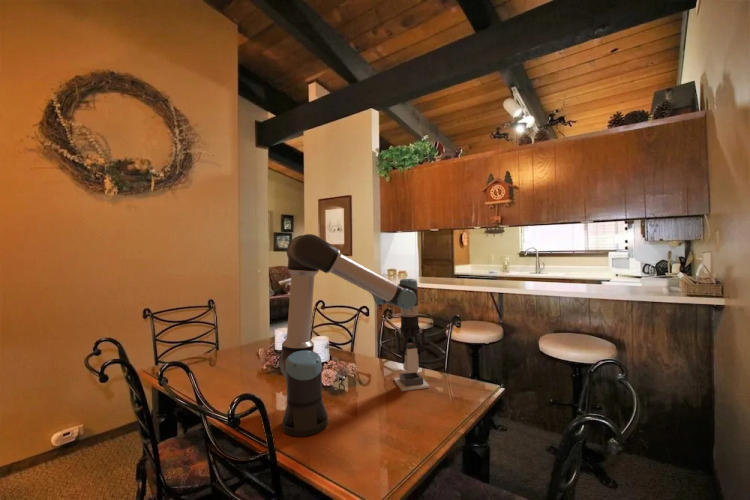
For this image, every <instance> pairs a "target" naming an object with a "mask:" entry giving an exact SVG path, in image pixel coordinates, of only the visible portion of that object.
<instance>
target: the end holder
mask: <svg viewBox="0 0 750 500" xmlns="http://www.w3.org/2000/svg"><path fill="white" fill-rule="evenodd" d="M393 381H394V383H395V384H396V385H397V386H398V389H400V391H401V392H407V391H408V392H409V391H415V390H423V389H424V390H425V389H430V388H431V387H430V384H429V383H428V382H427V381H426V380H425V378H424V377H423V376H422V375H421V374H420V373H419V372H413V373H407V372H402V373H400V372H399V377H393Z"/></svg>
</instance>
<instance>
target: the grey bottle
mask: <svg viewBox="0 0 750 500" xmlns="http://www.w3.org/2000/svg"><path fill="white" fill-rule="evenodd" d="M405 354H406V355H407V371H405V373H413V372H418V371H419V369H418V359H417V348H416V347H415V344H414V342H407V346H406V351H405ZM418 373H419V372H418Z"/></svg>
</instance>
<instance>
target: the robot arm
mask: <svg viewBox="0 0 750 500" xmlns="http://www.w3.org/2000/svg"><path fill="white" fill-rule="evenodd" d="M286 248H287V249H286V256H287V272H289V274H290V286H289V289H290V290H289V300H288V301H289V303H288V304H289V305H288V317H287V333H286V338H285V340H283V341H282V343H281V353H280V355H279V358H278V367H279V369H280V371H281V373H282V375H283V377H284V379H285V382H286V407H285V411H284V413H283V417H282V419H281V430H282V432H283V433H284V434H286V435H287V436H291V437H295V438H303V437H310V436H314V435H317V434H319V433H320V432H323V431H324V430H325V429H326V428H327V427H328V424H329V416H328V415H329V414H328V412H327V409H326V406H325V404H324V401H323V374H322V372H323V371H322V369H323V363H322V358H321V356H320V355H319V353H318V352H316V351H314V349H315V348H314V345H315V343H314V341H312V340H311V330H312V314H313V301H314V286H315V276H316V275H317V274H318V273H319V272H320V271H321V272H323V273H325V274H329V273H331V274H333V275H335V276H337V277H338V278H340V279H342V280H344V281H347V282H349V283H350V284H353V285H355V286H357V287H358V288H361V289H362V290H364V291H366V292H368V293H369V294H372V296H373V301H374V303H375V304H377V305H390V306H393V307H396V308H398V309H400V328H399V329H397V330H396V329H395V330H394V331H393V332H394V335H395V341H396V342H395V345H396V353H397V354H398V355H400V362H401V363H402V364H403V367H402V368H403V370H404V371H405V372H406V371H407V355H406V354H405V351H406V346H407V343H408V341H409V338H412V340H413V344H415V347H416V348H417V359H418V370H420V366H419V362H421V355H422V353H424V352H425V348H426V347H425V334H426V329H425V328H423V327H420V325H419V316H418V315H419V299H418V297H419V294H418V293H419V292H418V290H419V289H418V287H419V286H418V281H417V280H416V279H415V278H402V279H399V283H396V282H394V281H392V280H390V279H388V278H386V277H384V276H383V275H381V274H379V273H377V272H375V271H374V270H372V269H369V268H368V267H367V266H365V265H362V264H360V263H359V262H357V261H355V260H353V259H351V258H350V257H348V256H346V255H345V254H342V253H341V249H339V248H337V247H336V246H334V245H332V244H331V243H329V242H328V241H326V240H325V239H323V238H322V237H320V236H318V235H315V234H311V233H310V234H309V233H308V234H300V235H298V236H295V237H294V238H293V239H291V241H289V243H288V245H287V247H286ZM418 332H419V340H418V335H417V334H418ZM401 333H402V334H403V335H402V342H401Z"/></svg>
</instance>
